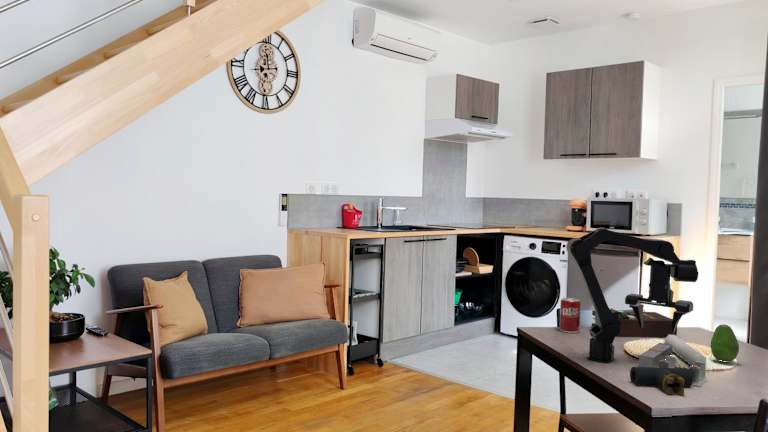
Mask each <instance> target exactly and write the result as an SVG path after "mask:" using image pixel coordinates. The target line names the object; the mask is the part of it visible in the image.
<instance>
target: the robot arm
mask: <svg viewBox="0 0 768 432" xmlns="http://www.w3.org/2000/svg"><path fill="white" fill-rule="evenodd" d="M604 242H608V243H612V244H616V245H620V246H624V247H627V248H632V249H635V250H639V251H641V252H643V253H645V254H648V255H650V256H652V257H653V258H658V259H660V260H658V259H657V260H655V259H653V258H652V257H650V256H649V257H648V258H647V260H645V261H643V265H645V266H649V267H650V272H649V283H648V297H644V296H643V294H637V293H630V294H627V295H626V296H625V298H624V304H625V305H628V306H629V308H630V309H631V308H632V310H633V311H632V312H634V313H635V315H636V317H637V320H638V323H639V325H640V328H643V312H644V306H645V305H650V306H656V307H657V306H658V307H666V308H672V309H674V310H675V311H673V313H672V319H673V321H672V333H674V331H675V329H676V327H677V328H678V324H679V323H680V320H681V318H682V317H683V316H684V315H686V314H689V313H691V312H693V311H694V302H693V301H691V300H683V299H678V300H676V301H673V300H674V292H675V291H673V290H672V289H671V278H672V279H673V280H674V281H675V282H681V283H682V282H685V283H696V282H697V281H698V278H699V271H698V267H697V266H698V265H697V263H696V260H695V259H686V260H685V259H680V258H679V256H678V255H677V254H676V252H675V247H674V245H673V243H672V242H670V241H668V240H665V239H664V240H663V239H660V238H658V239H657V238H646V237H645V238H644V237H643V238H641V237H637V236H634V235H630V234H625V233H621V232H619V231H618V232H617V231H614V230H610V229H608V228H605V227H597V228H596V229H595V230H592V231H591V232H588V233H586V234H583V235H581V236H580V237H578V238H577V237H574V238H571V239H570V240H568V241H567V243H566V251H567V253H568V255H569V256H570V257H571V260H573V262H574V264H575V266H577V268H578V270H579V273H580V275H581V278H582V281H583V283H584V285H585V287H586V290H587V293H588V295H589V298H590V301H591V303H592V305H593V308H594V311H595V316H594V318H596V323H597V324H596V325H595V326H593V327H592V326H591V327H592V328H591V327H590V329H589V330H588V331H589V335H590V337H591V338H589V349H588V356H587V357H586V359H587V360H590V361H595V362H600V363H607V364H608V363H610V362H612V361H614V360H615V345H614V341H615V339H616V338H617V337H616V336H617V335H618V334H619V333H620V331H621V326H620V324H622V323H621V322H620V320H619V318H618V313H617V312H616V311H617V310H616V309H614V308H612V307H611V308H610V307H609V306H608V303H607V301H606V298H605V295H604V293H603V290H602V288H601V286H600V283H599V281H598V278H597V275H596V272H595V271H594V268H593V264H592V263H593V262H592V254H591V250H593V249H595V248H596V247H598V246H599V245H601V244H602V243H604ZM665 261H666V262H669V263H665ZM615 310H616V311H615Z"/></svg>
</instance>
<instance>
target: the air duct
mask: <svg viewBox="0 0 768 432" xmlns="http://www.w3.org/2000/svg"><path fill="white" fill-rule="evenodd" d="M670 355H672V356H673V351H672V345H670V344H665V342H664V343H662V342H658V343H657V344H656V345H654V346H652V347H649V349H647V350H645V351H644V352H642V353H641V354H638V361H637V362H638V365H637V367H657V368H659V361H660V360H665V359H666V356H670Z"/></svg>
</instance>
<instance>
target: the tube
mask: <svg viewBox="0 0 768 432" xmlns="http://www.w3.org/2000/svg"><path fill="white" fill-rule="evenodd" d="M664 344H670V345H672V353H673V352H674V353H675V355H677V356H678V355H679V356H678V357H680V358H681V357H682V358H683V359H682V358H681V359H682V360H684V361H685V360H686V361H687V362H688V363H687V362H686V361H685V362H686V363H687V364H689V365H690V366H691V365H693V366H694V365H696V361H700V362H705V363H706V364H707V357H705V355H703V353H700V352H699V351H698V350H697V349H695V348H693V347H692V346H690V344H687V343H686V342H685V341H684V340H682V339H681V338H680V337H679V336H678V335H677V336H676V335H668V336H667V337H666V338H664Z"/></svg>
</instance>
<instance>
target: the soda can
mask: <svg viewBox="0 0 768 432" xmlns="http://www.w3.org/2000/svg"><path fill="white" fill-rule="evenodd" d="M581 307H582V303H581V299H579V298H578V299H577V298H571V297H565V298H563V297H562V298H561V299H560V310H559V330H560V332H563V333H567V334H578V333H579V332H580V330H581V329H580V325H581V310H582V309H581Z"/></svg>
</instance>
